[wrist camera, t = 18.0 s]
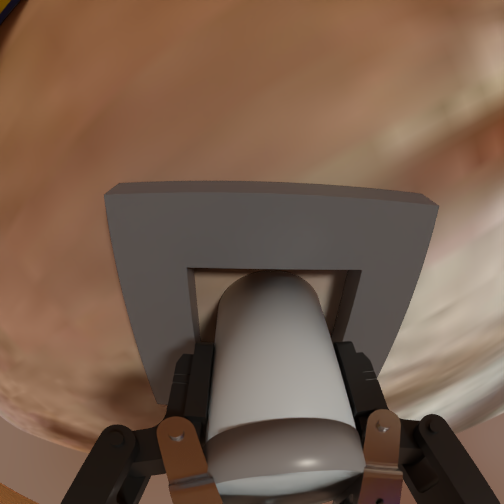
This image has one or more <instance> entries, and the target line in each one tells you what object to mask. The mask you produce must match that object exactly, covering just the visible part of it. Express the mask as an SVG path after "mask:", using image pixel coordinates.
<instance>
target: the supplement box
mask: <svg viewBox="0 0 504 504" xmlns="http://www.w3.org/2000/svg"><path fill="white" fill-rule="evenodd" d="M19 1H20V0H0V24H1V23H2V22H3V21H4V19H5V18H6V17H7V16H8V14H9V13H10V12H11V11H12V10H13V8H14V7H15V6H16V5H17V4H18V3H19Z"/></svg>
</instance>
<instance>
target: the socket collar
mask: <svg viewBox="0 0 504 504" xmlns="http://www.w3.org/2000/svg"><path fill="white" fill-rule="evenodd" d="M104 199H105V206H106V213H107V219H108V225H109V231H110V236H111V242H112V247H113V252H114V257H115V262H116V267H117V271H118V276H119V280H120V284H121V289H122V293H123V297H124V301H125V305H126V308H127V312H128V316H129V319H130V323H131V327H132V330H133V333H134V337H135V340H136V343H137V347H138V350H139V353H140V356H141V359H142V362H143V365H144V368H145V371H146V374H147V377H148V380H149V383H150V386H151V388H152V391H153V394H154V396H155V399H156V402H157V404H164V405H168V401H169V396H170V391H171V386H172V381H173V376H174V371H175V366H176V362H177V361H178V360H179V358H180V357H181V356H182V355H183V354H194V349H195V344H196V342H201V338H200V329H199V319H198V309H197V299H196V288H195V276H194V268H236V269H307V270H348V272H347V277H346V281H345V286H344V290H343V294H342V298H341V302H340V307H339V311H338V315H337V318H336V322H335V326H334V330H333V334H332V337H331V340H332V344H333V343H334V342H344V341H352V343H353V345H354V348H355V350H356V353H358V352H363V353H364V354H365V355H366V356H367V357H368V358H369V359H370V361H371V363H372V366H373V369H374V372H375V374H376V377H378V375H379V373H380V371H381V369H382V367H383V365H384V362H385V360H386V358H387V356H388V354H389V352H390V349H391V347H392V345H393V343H394V340H395V338H396V336H397V333H398V331H399V329H400V326H401V324H402V321H403V319H404V316H405V314H406V311H407V309H408V306H409V304H410V301H411V298H412V295H413V293H414V290H415V287H416V284H417V281H418V278H419V275H420V272H421V269H422V266H423V263H424V260H425V257H426V253H427V250H428V247H429V243H430V240H431V236H432V233H433V229H434V225H435V221H436V217H437V213H438V209H439V205H437V204H436V203H434V202H433V201H431V200H430V199H429V198H427V197H426V196H424V195H423V194H418V193H410V192H401V191H392V190H383V189H373V188H362V187H350V186H336V185H322V184H305V183H284V182H254V181H165V182H136V183H119V184H117V185H116V186H115V187H113V188H112V189H111V190H109V191H108V192H107V193H106V194H104Z"/></svg>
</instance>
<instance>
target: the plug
mask: <svg viewBox="0 0 504 504" xmlns="http://www.w3.org/2000/svg"><path fill="white" fill-rule="evenodd" d="M203 454H204V456H205V459H206V462H207V465H208V475H209V476H212V477H213V479H214V482H215V484H216V487H217V489H218V492H219V494H220V497H221V499H222V502H223V504H322V503H325V502H329V501H332V500H334V499H335V498H336V497H338V496H339V495H340V494H341V493H342V492H343V491H344V490H345V489H347V488H348V487H349V486H350V485H351V484H352V483H353V482H354V481H355V480H356V479H357V478H358V477H359V476H360V475H361V474H362V473H363V472H364V467H366V463H365V458H364V454H363V449H362V444H361V440H360V436H359V433H358V431H357V430H356V427H355V423H354V419H353V415H352V411H351V408H350V404H349V400H348V396H347V393H346V389H345V385H344V382H343V378H342V375H341V371H340V368H339V364H338V361H337V357H336V354H335V350H334V347H333V344H332V340H331V337H330V334H329V330H328V327H327V324H326V321H325V317H324V314H323V311H322V308H321V305H320V302H319V298H318V296H317V293H316V292H315V290H314V288H313V287H312V286H311V285H310V284H309V283H308V282H307V281H305V280H304V279H302V278H301V277H299V276H297V275H294V274H291V273H288V272H283V271H274V270H270V271H260V272H256V273H252V274H249V275H247V276H244V277H242V278H240V279H239V280H237V281H236V282H234V283H233V284H232V285H231V286H230V287H229V288H228V289H227V290H226V291H225V292H224V294H223V296H222V297H221V300H220V302H219V307H218V315H217V324H216V333H215V343H214V356H213V366H212V376H211V387H210V397H209V408H208V420H207V427H206V438H205V445H204V448H203Z"/></svg>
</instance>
